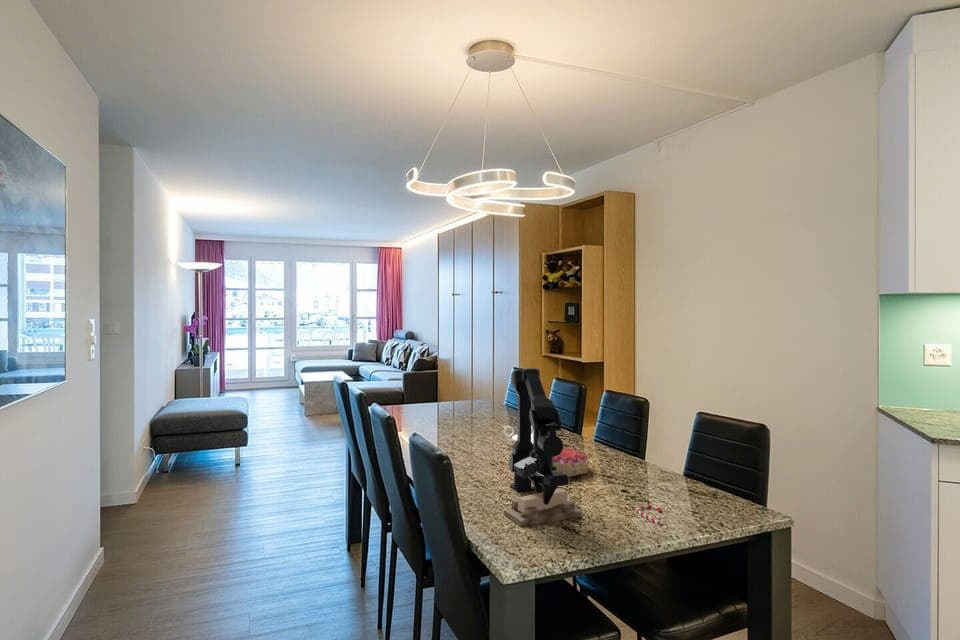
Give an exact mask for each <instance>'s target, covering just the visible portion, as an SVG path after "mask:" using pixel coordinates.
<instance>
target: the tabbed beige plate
mask: <svg viewBox="0 0 960 640" xmlns="http://www.w3.org/2000/svg"><path fill="white" fill-rule="evenodd" d="M575 505H576V504H575V503H574V502H573V501H567V502H564V503H562V504H560V505H556V506H552V507H548V508H544V509H540V510H538V509H537V508H535V507H531V508H525V513H523V512H521V511H519V510H518V498H517V499H516V498H515V499H511V508H505V509H503V516H505V518H508V519H509V520H510V521H512V522H514V523H515V524H516V525H518V526H519V527H528V526H533V525H537V524H543V523H549V522H556V521H562V520H567V519H573V518H575V519H576V518H580V517H583V510H581V509H579V508H577V507H576V506H575Z"/></svg>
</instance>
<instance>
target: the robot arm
mask: <svg viewBox="0 0 960 640" xmlns="http://www.w3.org/2000/svg"><path fill="white" fill-rule="evenodd" d="M510 379H511V380H510V381H511V384H512V388H513V390H514V392H515V394H516V395H517V434H516V435H517V441H514V442H515V443H514V444H513V446H512V450H511V451H512V452H511V453H510V456H509V460H508V469H509V470H510V472H511V473H513V484H510V485H509V488H511V489H513V490H515V491H517V492H527V491H529V492H530V491H534V492H535V494H537V493H541V492H543V498H544V504H545V505H547V504H549V501H550V499H551V497H552V495H553V493H554V492H555V490H556V489H558V487H563V486H569V485H570V477H568V476H567V475H566V474H564V473H562V472H560V471H559V472H552V471H556V467H555V466H553V457H555V456H558V455H559V454H560V453H561V452H562V450H563V448H564V443H563V440H562V439H561V438H560V437H559V436H558V435H557V431H561V430H562V421H561V420H562V419H561V417H560V412H559V411H558V409H557V408H556V405H555V404H554V402H553V401H552V400H551V399H549V398H548V397H547V396H546V395H547V394H546V392H545V389H544V386H543V383H542V381H541V378H540V370H539V369H538V368H524V369H523V368H522V369H520V368H519V369H518V368H517V369H515V370H514V371H513V372H512V373H511V377H510ZM531 403H532V404H531ZM531 425H532V429H533V430H532V429H531ZM533 431H534V432H533ZM532 432H533V444H532V442H531V433H532ZM551 472H552V473H551Z"/></svg>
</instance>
